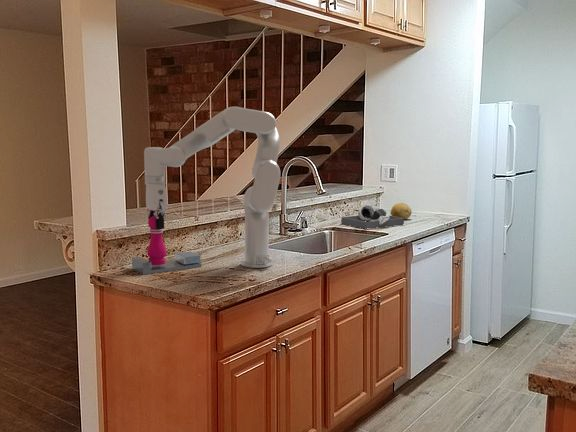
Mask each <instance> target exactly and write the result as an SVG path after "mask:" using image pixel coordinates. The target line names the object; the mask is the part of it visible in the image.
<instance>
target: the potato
mask: <svg viewBox="0 0 576 432" xmlns="http://www.w3.org/2000/svg"><path fill="white" fill-rule="evenodd" d="M412 212H413V211H412V209H411V207H410V206H409V205H408V204H406V203H401V202H400V203H396V204H395V205H393V206H392V207H391V209H390V216H395V217H400V218H404V220H407V219H409V218H410V217H411V216H412Z"/></svg>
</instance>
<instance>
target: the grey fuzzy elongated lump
mask: <svg viewBox="0 0 576 432" xmlns="http://www.w3.org/2000/svg"><path fill="white" fill-rule="evenodd" d="M357 216H359V217H360V219H361V220H362V221H367V220H369V219H370V220H371V221H380V223H379V225H381V224H382V223H384V222H386V221H387V220H389V218H390V216H391V215H389V214H388V213H387V211H385V209H383V208H379V209H378V208H377V209H375V210H374V208H373V207H372V205H371V206H370V205H364V206H363V207H361V208H360V209H359V210H358V213H357Z"/></svg>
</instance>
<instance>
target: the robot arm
mask: <svg viewBox="0 0 576 432" xmlns="http://www.w3.org/2000/svg"><path fill="white" fill-rule="evenodd" d="M234 131H241V132H246V133H253V134H256V137H257V141H258V142H257V148H256V149H257V150H256V153H255V158H254V162H253V165H252V168H251V175H252V178H253V179H254V181H253V184H252V186H249V187H248V188H247V189H246V191H245V192H244V195H243V206H244V208H243V209H244V259H242V260H241V261H240V265H241V266H242V267H244V268H245V267H246V268H251V269H260V268H261V269H262V268H269V267H271V266H272V265H273V260H272V259H270V254H269V246H270V245H269V242H270V241H269V240H270V239H269V237H270V233H269V232H270V230H269V229H270V215H269V211H270V210H271V209H272V208H273V206H274V203H275V202H276V201H275V200H276V197H277V193H278V189H279V185H280V180H281V169H280V166H279V164H278V163H277V162H278V157H279V153H280V148H281V147H280V146H281V138H280V137H281V136H280V133H279V131H278V128H277V120H276V118H275V116H274V115H273V114H272V113H270V112H267V111H264V110H263V111H262V110H256V109H250V108H246V107H245V108H244V107H241V106H229V107H227V108H225V109H224V110H222V111H220V112H219V113H217V114H216V115H215V116H213V117H211V118H210V119H209V120H207V121H206V122H204V123H203V124H201V125H199V126H198V127H196V128H195V129H194V130H193V131H191V132H190V133H188V134H187V135H186V136H183V138H181V139H180V140H179V139H178V140H177V142H175V143H173V144H172V145H171V146H169V147H165V148H164V147H160V146H151V147H150V146H149V147H145V148H144V151H143V157H144V158H143V162H144V185H145V206H146V209H147V216H148V220H149V218H150V217H152V216H154V212H155V213H156V218H157V219H155V221H156V229H163V230H164V229H165V214H166V212H167V210H168V196H167V195H168V194H167V188H166V167H172V168H179V167H181V166H184V164H185V163H186V160H187V159H188V158H191V157H192V156H193V155H195V154H196V153H197V152H199V151H201V150H204V149H207V148H210V147H211V146H213V145H215V144H217V143H218V142H219V141H221V140H222V139H223V138H225V137H227V136H228V135H230V134H231V133H233V132H234Z"/></svg>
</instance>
